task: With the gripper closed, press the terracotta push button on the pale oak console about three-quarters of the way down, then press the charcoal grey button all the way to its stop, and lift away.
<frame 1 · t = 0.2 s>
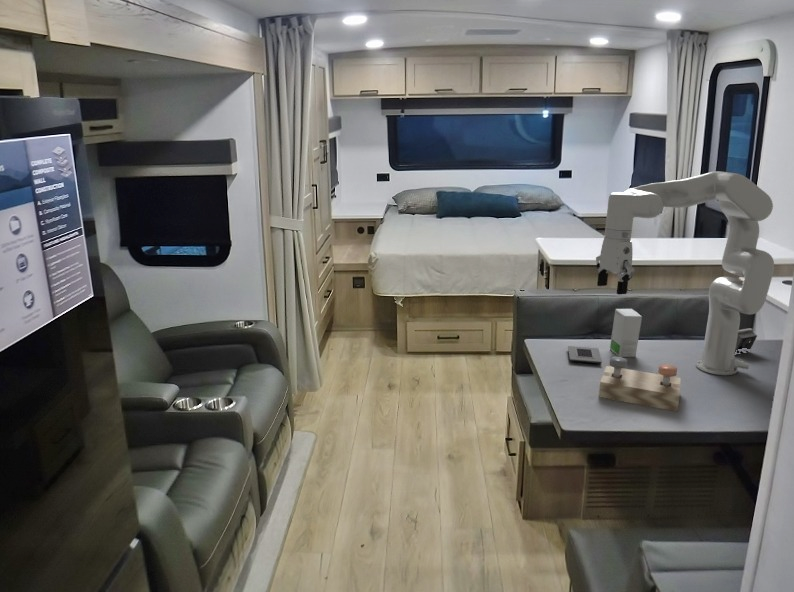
hand: (611, 289, 196), 31 cm above the table, tool pointing down, fingers open, 9 cm apart
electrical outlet: (583, 359, 225), on the table
grey button: (617, 369, 197), point 7 cm above the table, slide at 0.0 cm
console: (638, 394, 196), on the table
electrical switch: (738, 353, 232), on the table
skincare box: (623, 353, 230), on the table
terracotta button: (666, 377, 191), point 7 cm above the table, slide at 0.0 cm
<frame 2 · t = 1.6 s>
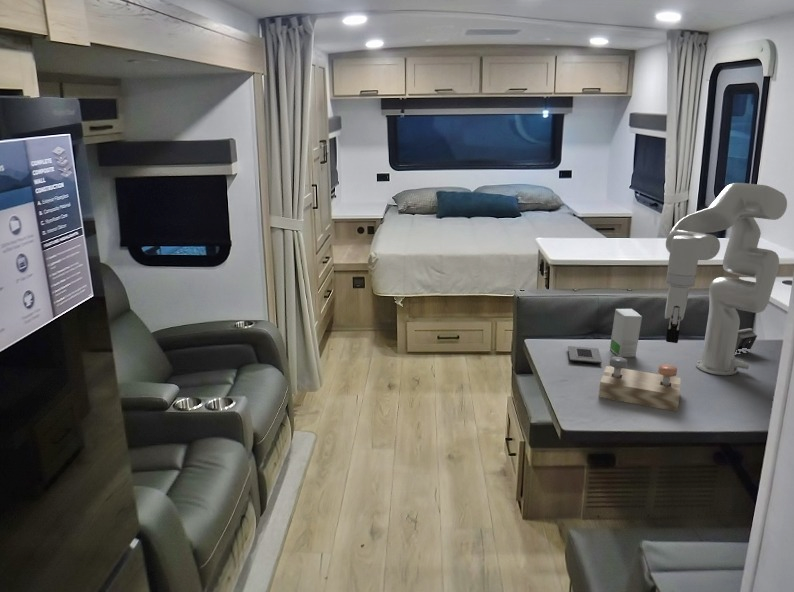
hand: (672, 339, 188), 19 cm above the table, tool pointing down, fingers open, 4 cm apart
nothing on the table moved.
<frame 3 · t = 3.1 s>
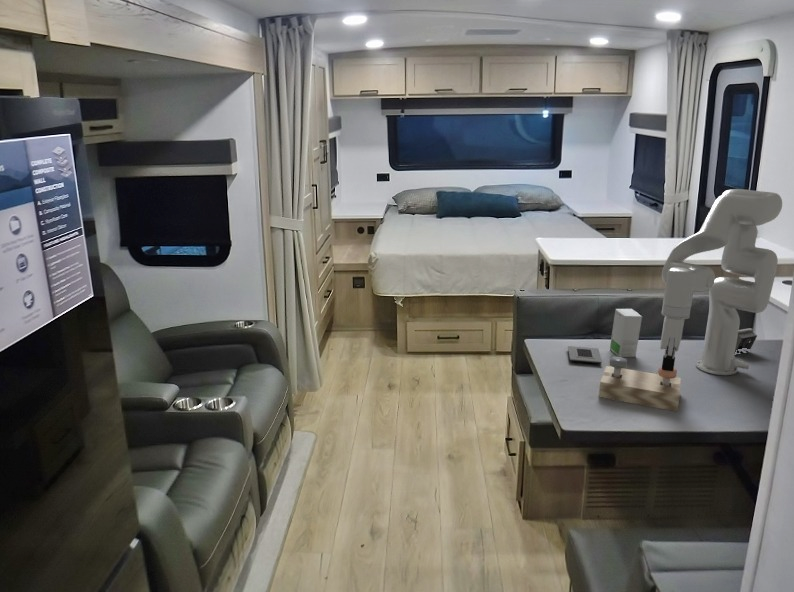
hand: (667, 369, 190), 10 cm above the table, tool pointing down, fingers closed
terracotta button: (666, 379, 191), point 6 cm above the table, slide at 0.6 cm, touching gripper
everything else where it was.
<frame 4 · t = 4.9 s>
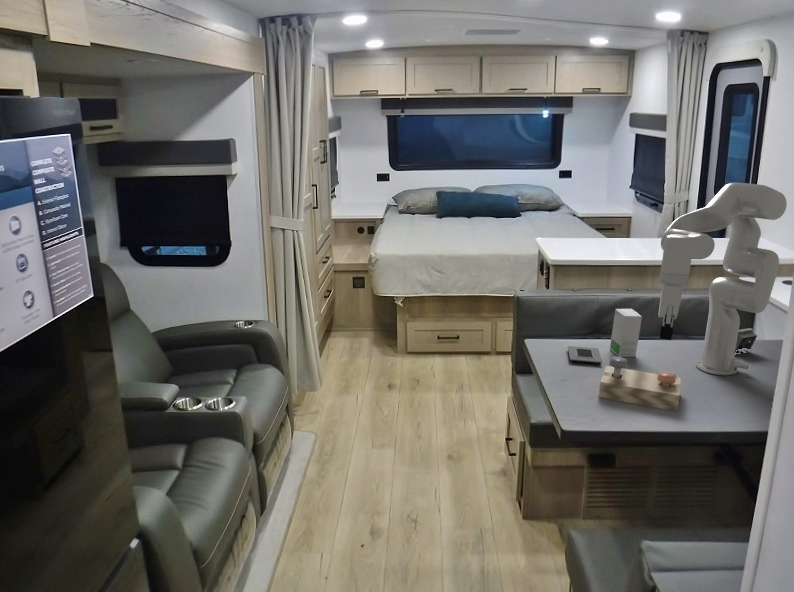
hand: (665, 338, 188), 19 cm above the table, tool pointing down, fingers closed
terracotta button: (665, 384, 192), point 5 cm above the table, slide at 2.3 cm
everything else where it was.
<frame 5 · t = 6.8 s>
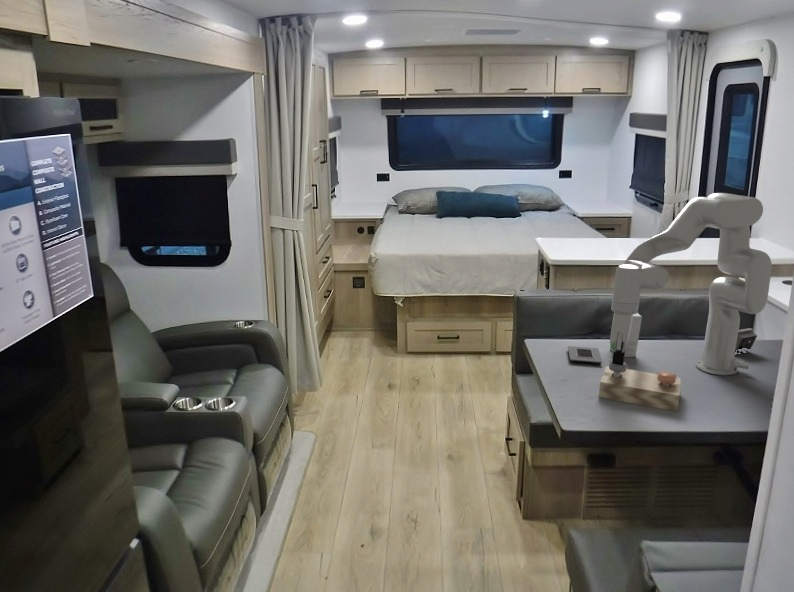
hand: (617, 363, 196), 9 cm above the table, tool pointing down, fingers closed
grey button: (617, 373, 197), point 6 cm above the table, slide at 1.3 cm, touching gripper
everything else where it was.
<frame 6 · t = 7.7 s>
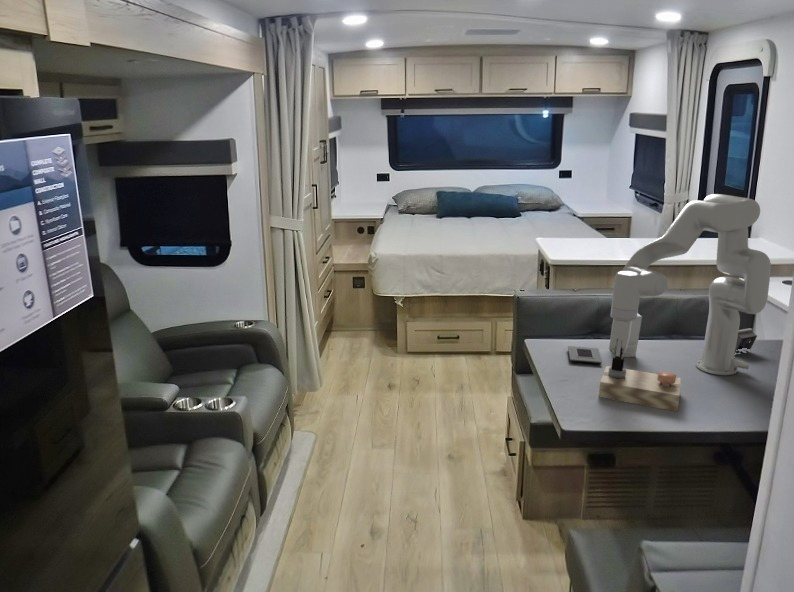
hand: (617, 369, 197), 7 cm above the table, tool pointing down, fingers closed
grey button: (616, 379, 198), point 4 cm above the table, slide at 3.2 cm, touching gripper
everything else where it was.
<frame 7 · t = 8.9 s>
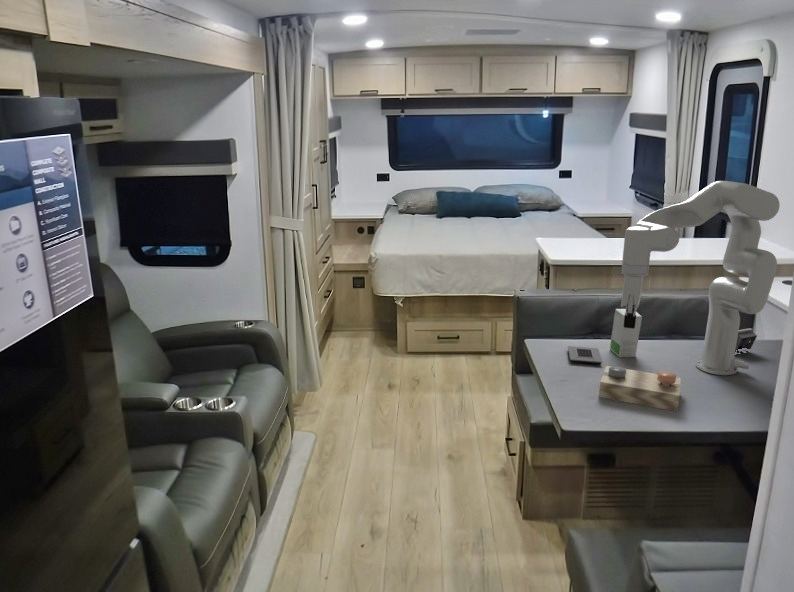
hand: (629, 327, 195), 20 cm above the table, tool pointing down, fingers closed
grey button: (616, 379, 198), point 4 cm above the table, slide at 3.2 cm
everything else where it was.
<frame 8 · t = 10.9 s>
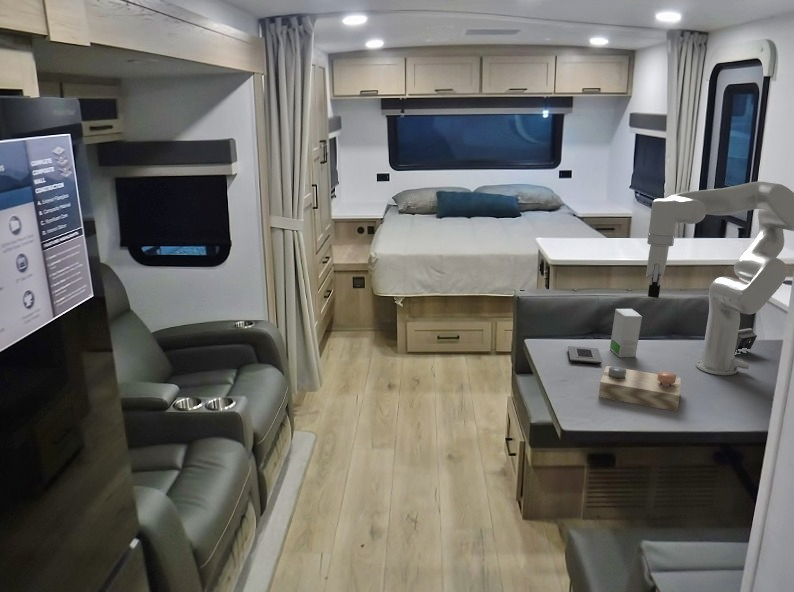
hand: (653, 296, 202), 27 cm above the table, tool pointing down, fingers closed
nothing on the table moved.
at the end: terracotta button slide at 2.3 cm; grey button slide at 3.2 cm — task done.
